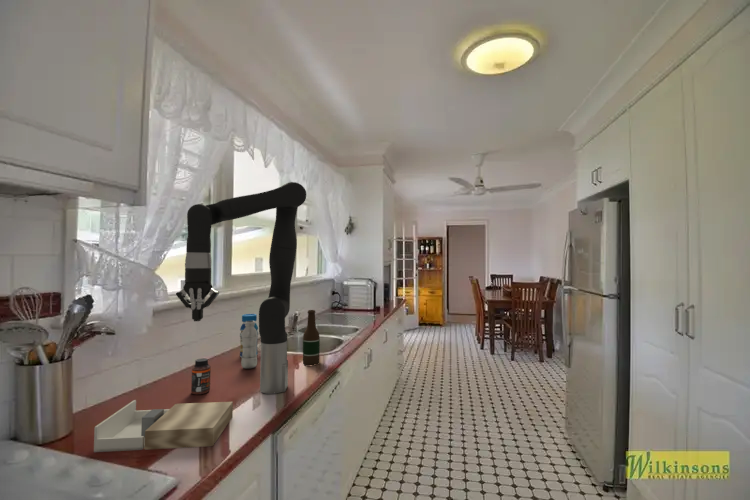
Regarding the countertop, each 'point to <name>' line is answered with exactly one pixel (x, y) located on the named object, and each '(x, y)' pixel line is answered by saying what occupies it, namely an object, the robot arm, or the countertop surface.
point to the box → (121, 430)
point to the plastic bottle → (249, 346)
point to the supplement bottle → (201, 377)
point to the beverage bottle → (245, 318)
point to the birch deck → (189, 425)
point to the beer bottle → (311, 341)
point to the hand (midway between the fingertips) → (197, 320)
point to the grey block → (150, 419)
